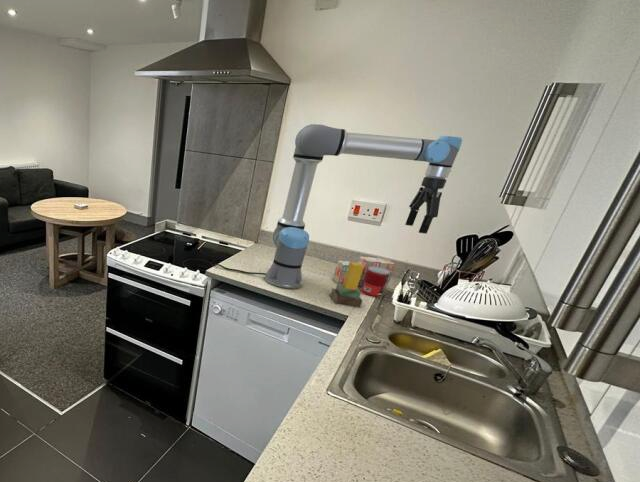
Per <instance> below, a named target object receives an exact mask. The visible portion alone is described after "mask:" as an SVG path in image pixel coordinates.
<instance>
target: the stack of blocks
mask: <svg viewBox="0 0 640 482" xmlns="http://www.w3.org/2000/svg"><path fill="white" fill-rule="evenodd" d="M350 262H351V261H347V260H346V261H345V260H338V261H337V264H336V267H335V270H334V273H333V276H332V280H333V281H334V282H335V283H337V284H338V283H341V284H343V282H344V279H345V276H346V273H347V270H348V267H349V264H350ZM354 262H355V261H354ZM355 263H357V261H356V262H355ZM358 263H361V264H362V265H363V266H364V268H363V271H362V274H361V277H360V280H359V283H358V286H357V287H362V285H363V282H364V279H365V276H366V273H367V270H368V268H369V267H379V268H383V269H386V270H388V271H389V272H390V274H389V277H388V279H387V282H386V285H385V287H384V290H387V287H388V285H389V283H390V280H391V277H392V276H393V272H394V269H395V267H396V263H394V262H393V261H392V260H389V259H386V258H380V257H371V256H370V257H369V256H368V257H367V256H360V258H359V260H358Z"/></svg>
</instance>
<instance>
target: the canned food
mask: <svg viewBox="0 0 640 482" xmlns="http://www.w3.org/2000/svg"><path fill="white" fill-rule="evenodd" d="M389 274H390V272H389V271H388V270H386V269H383V268H379V267H369V268H368V270H367V273H366V276H365V279H364V282H363V285H362V286H361V288H360V291H361V294H364V295H366V296H370V297H375V298H379V297H381V296H382V295H377V294H379V293H382V294H383V292H384V290H385V289H384V287H385V285H386V282H387V279H388V277H389Z"/></svg>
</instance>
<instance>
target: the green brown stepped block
mask: <svg viewBox="0 0 640 482" xmlns="http://www.w3.org/2000/svg"><path fill="white" fill-rule="evenodd" d="M361 294H362V292H361V289H360V288H358V287H357V289H356V290H352V289H345V287H344V286H343V284H341V283H337V284H336V287H335V288H333V287H332V289H331V291H330V297H331V298H332V300H333V302H334V303H335V305H336V304H337V305H342V306H349V307H355V308H361V306H362V302H363V299H362V298H361Z"/></svg>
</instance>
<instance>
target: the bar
mask: <svg viewBox="0 0 640 482" xmlns="http://www.w3.org/2000/svg"><path fill="white" fill-rule="evenodd" d="M349 262H350V264H349V267H348V270H347V273H346V276H345V279H344V282H343V286H344V287H345V289H352V290H356V289H357V288H358V287H359V286H358V283H359V280H360V277H361V274H362V271H363V268H364V266H363V265H362V264H361V263H359V262H356V263H355V261H349Z"/></svg>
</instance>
